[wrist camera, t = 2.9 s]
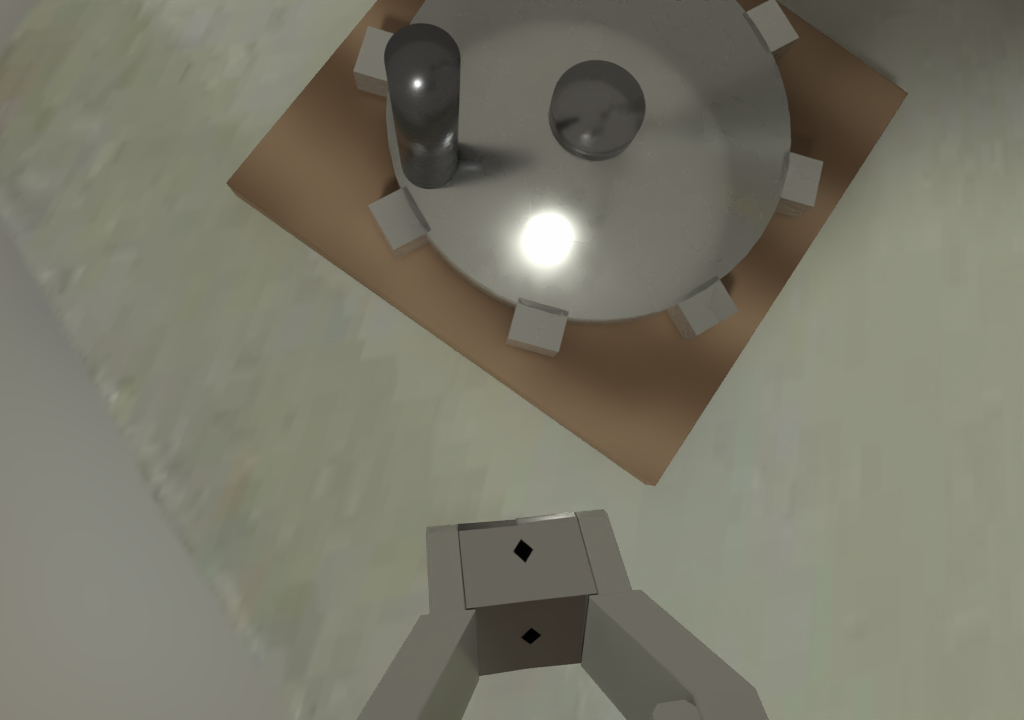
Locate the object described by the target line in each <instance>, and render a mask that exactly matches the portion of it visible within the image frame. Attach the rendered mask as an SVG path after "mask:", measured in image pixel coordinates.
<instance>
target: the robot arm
mask: <svg viewBox="0 0 1024 720" xmlns="http://www.w3.org/2000/svg"><path fill="white" fill-rule="evenodd" d="M426 548H427V567H428V587H429V606H430V614H428V615H421V616H420V618H419V619H418V621H417V623H416V624H415V626H414V628H413V629H412V631H411V632H410V634H409V636H408V637H407V639H406V641H405V642H404V644H403V645H402V647H401V649H400V650H399V652H398V654H397V655H396V657H395V658H394V660H393V662H392V663H391V665H390V667H389V668H388V670H387V671H386V673H385V675H384V676H383V678H382V680H381V681H380V683H379V684H378V686H377V688H376V689H375V691H374V693H373V694H372V696H371V697H370V699H369V701H368V702H367V704H366V706H365V707H364V709H363V710H362V712H361V714H360V715H359V717H358V719H357V720H461V719H462V717H463V715H464V712H465V710H466V708H467V706H468V703H469V701H470V699H471V697H472V694H473V692H474V690H475V688H476V685H477V683H478V681H479V676H483V675H490V674H496V673H502V672H509V671H515V670H522V669H528V668H537V667H547V666H557V665H567V664H577V663H581V666H582V667H583V669H584V670H585V671H586V672H587V673H588V674H589V676H590V677H591V678H592V679H593V680H594V682H595V683H596V684H597V685H598V686H599V687H600V689H601V690H602V691H603V692H604V693H605V694H606V696H607V697H608V698H609V699H610V700H611V702H612V703H613V704H614V705H615V706H616V707H617V709H618V710H619V711H620V712H621V713H622V714H623V716H624V717H625V718H626V719H627V720H769V719H768V717H767V714H766V712H765V710H764V707H763V705H762V703H761V700H760V698H759V696H758V693H757V691H756V689H755V688H754V687H753V686H752V685H751V684H750V683H749V682H747V681H746V680H745V679H744V678H743V677H742V676H740V675H739V674H738V673H737V672H736V671H735V670H734V669H732V668H731V667H730V666H729V665H728V664H727V663H725V662H724V661H723V660H722V659H721V658H720V657H718V656H717V655H716V654H715V653H714V652H713V651H711V650H710V649H709V648H708V647H707V646H706V645H704V644H703V643H702V642H701V641H700V640H699V639H697V638H696V637H695V636H694V635H693V634H692V633H691V632H689V631H688V630H687V629H686V628H685V627H684V626H682V625H681V624H680V623H679V622H678V621H677V620H675V619H674V618H673V617H672V616H671V615H670V614H668V613H667V612H666V611H665V610H664V609H663V608H661V607H660V606H659V605H658V604H657V603H656V602H655V601H653V600H652V599H651V598H650V597H649V596H648V595H646V594H645V593H644V592H643V591H642V590H632V588H631V585H630V582H629V579H628V576H627V573H626V570H625V567H624V564H623V561H622V558H621V554H620V551H619V548H618V545H617V542H616V539H615V536H614V533H613V530H612V527H611V524H610V521H609V518H608V514H607V513H606V512H605V511H604V509H602V510H592V511H582V512H575V513H573V512H568V513H559V514H551V515H542V516H534V517H525V518H517V519H515V520H505V521H492V522H479V523H466V524H458V529H457V524H456V525H444V526H433V527H427V530H426Z"/></svg>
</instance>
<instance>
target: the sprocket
mask: <svg viewBox="0 0 1024 720" xmlns="http://www.w3.org/2000/svg"><path fill="white" fill-rule="evenodd" d="M798 38H799V36H798V35H797V33H796V32H795V30H794V29H793V27H792V25H791V24H790V22H789V21H788V19H787V18H786V16H785V14H784V13H783V11H782V10H781V8H780V7H779V5H778V3H777V2H776V0H769V1H767V2H765V3H763V4H761V5H759V6H757V7H755V8H753V9H751V10H749V11H747V12H745V10H744V9H743V8H742V7H741V5H740V4H739V3H738V2H737V1H736V0H426V1H425V2H424V3H423V5H422V6H421V8H420V9H419V11H418V12H417V13H416V15H415V16H414V18H413V19H412V21H411V23H410V25H407V26H405V27H403V28H401V29H399V30H398V31H397V32H395V33H394V34H393V33H390V32H386V31H383V30H380V29H376V28H373V27H370V26H368V28H367V31H366V34H365V37H364V40H363V43H362V46H361V49H360V52H359V55H358V58H357V61H356V64H355V68H354V71H353V72H354V76H355V80H356V84H357V88H358V89H359V90H362V91H366V92H369V93H373V94H376V95H380V96H383V97H386V98H387V108H386V123H387V134H388V144H389V149H390V155H391V160H392V164H393V168H394V172H395V177H396V181H397V184H398V187H399V190H397V191H395V192H393V193H391V194H389V195H387V196H385V197H383V198H381V199H379V200H377V201H376V202H374V203H372V204H370V205H368V206H369V209H370V213H371V216H372V218H373V220H374V222H375V223H376V225H377V227H378V229H379V230H380V232H381V234H382V236H383V237H384V239H385V241H386V243H387V244H388V246H389V248H390V250H391V251H392V253H393V255H394V257H395V258H396V260H397V259H399V258H401V257H403V256H405V255H407V254H408V253H410V252H412V251H414V250H416V249H418V248H420V247H422V246H424V245H425V244H427V243H429V245H430V246H431V247H432V249H433V250H434V252H435V253H436V254H437V255H438V256H439V257H440V258H441V259H442V260H443V261H444V262H445V263H446V264H447V265H448V266H449V267H450V268H451V269H452V270H453V271H454V272H455V273H456V274H458V275H459V276H460V277H461V278H462V279H464V280H465V281H466V282H467V283H469V284H470V285H471V286H472V287H474V288H475V289H477V290H479V291H480V292H482V293H483V294H485V295H487V296H488V297H490V298H492V299H493V300H495V301H496V302H499V303H501V304H503V305H505V306H508V307H510V308H512V309H514V312H513V316H512V320H511V323H510V327H509V331H508V334H507V338H506V342H505V344H508V345H511V346H515V347H519V348H522V349H526V350H529V351H533V352H537V353H540V354H544V355H547V356H551V357H554V356H555V355H556V354H557V353H558V352H559V349H560V345H561V341H562V337H563V333H564V329H565V326H566V324H572V325H596V326H600V325H611V324H621V323H628V322H632V321H636V320H641V319H645V318H649V317H652V316H655V315H657V314H660V313H663V312H665V311H667V312H668V313H669V315H670V317H671V318H672V320H673V322H674V323H675V325H676V327H677V328H678V330H679V332H680V333H681V335H682V337H683V338H684V340H685V341H687V340H689V339H691V338H693V337H695V336H697V335H699V334H701V333H702V332H704V331H706V330H707V329H709V328H711V327H713V326H714V325H716V324H718V323H719V322H721V321H723V320H725V319H726V318H728V317H730V316H731V315H733V314H735V313H736V312H738V311H739V310H738V309H737V307H736V305H735V304H734V302H733V300H732V299H731V297H730V295H729V294H728V292H727V291H726V289H725V287H724V286H723V284H722V282H721V281H720V279H721V278H723V277H724V276H725V275H727V274H728V273H729V272H730V271H731V270H732V269H733V268H734V267H735V266H736V265H737V264H738V263H739V262H740V261H741V260H742V259H743V258H744V257H745V256H746V255H747V254H748V253H749V251H750V250H751V249H752V247H753V246H754V245H755V243H756V242H757V241H758V240H759V238H760V237H761V236H762V234H763V232H764V230H765V228H766V227H767V225H768V223H769V221H770V220H771V218H772V216H773V214H774V212H778V213H782V214H785V215H788V216H792V217H795V218H799V217H800V216H801V215H803V214H804V213H806V212H807V211H809V210H810V209H812V208H813V207H814V204H815V199H816V195H817V190H818V185H819V180H820V175H821V170H822V166H823V162H822V161H819V160H816V159H812V158H809V157H805V156H802V155H799V154H795V153H792V152H790V147H791V129H790V114H789V108H788V102H787V96H786V91H785V88H784V85H783V81H782V78H781V75H780V71H779V68H778V66H777V64H776V62H775V60H777V59H779V58H781V57H782V56H784V55H785V54H786V53H787V51H788V50H789V49H790V48H791V47H792V46H793V44H794V43H795V42H796V41H797V40H798Z"/></svg>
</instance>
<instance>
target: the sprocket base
mask: <svg viewBox="0 0 1024 720" xmlns="http://www.w3.org/2000/svg"><path fill="white" fill-rule="evenodd" d="M425 1H426V0H377V2H376V3H375V4H374V5H373V7H372V8H371V9H370V10H369V11H368V13H367V14H366V15H365V16H364V17H363V19H362V20H361V21H360V22H359V23H358V25H357V26H356V27H355V28H354V29H353V31H352V32H351V33H350V34H349V36H348V37H347V38H346V39H345V40H344V42H343V43H342V44H341V45H340V46H339V48H338V49H337V50H336V51H335V52H334V54H333V55H332V56H331V57H330V58H329V60H328V61H327V62H326V63H325V64H324V66H323V67H322V68H321V69H320V71H319V72H318V73H317V74H316V75H315V77H314V78H313V79H312V80H311V81H310V83H309V84H308V85H307V86H306V87H305V89H304V90H303V91H302V92H301V93H300V95H299V96H298V97H297V98H296V100H295V101H294V102H293V103H292V104H291V106H290V107H289V108H288V109H287V110H286V112H285V113H284V114H283V115H282V116H281V118H280V119H279V120H278V121H277V122H276V124H275V125H274V126H273V127H272V128H271V130H270V131H269V132H268V133H267V135H266V136H265V137H264V138H263V139H262V141H261V142H260V143H259V144H258V145H257V147H256V148H255V149H254V150H253V151H252V153H251V154H250V155H249V156H248V157H247V159H246V160H245V161H244V162H243V164H242V165H241V166H240V167H239V168H238V170H237V171H236V172H235V173H234V174H233V176H232V177H231V178H230V179H229V180H228V182H227V184H228V186H229V187H230V188H231V189H232V191H233V192H234V193H235V194H236V196H238V197H239V198H241V199H242V200H244V201H245V202H246V203H248V204H249V205H251V206H252V207H253V208H255V209H256V210H258V211H259V212H261V213H262V214H263V215H265V216H266V217H268V218H269V219H270V220H272V221H273V222H275V223H276V224H278V225H279V226H280V227H282V228H283V229H285V230H286V231H287V232H289V233H290V234H292V235H293V236H295V237H296V238H297V239H299V240H300V241H302V242H303V243H304V244H306V245H307V246H309V247H310V248H312V249H313V250H314V251H316V252H317V253H319V254H320V255H321V256H323V257H324V258H326V259H327V260H329V261H330V262H331V263H333V264H334V265H336V266H337V267H338V268H340V269H341V270H343V271H344V272H346V273H347V274H348V275H350V276H351V277H353V278H354V279H355V280H357V281H358V282H360V283H361V284H362V285H364V286H365V287H367V288H368V289H370V290H371V291H372V292H374V293H375V294H377V295H378V296H379V297H381V298H382V299H384V300H385V301H387V302H388V303H389V304H391V305H392V306H394V307H395V308H396V309H398V310H399V311H401V312H402V313H404V314H405V315H406V316H408V317H409V318H411V319H412V320H413V321H415V322H416V323H418V324H419V325H421V326H422V327H423V328H425V329H426V330H428V331H429V332H430V333H432V334H433V335H435V336H436V337H438V338H439V339H440V340H442V341H443V342H445V343H446V344H447V345H449V346H450V347H452V348H453V349H455V350H456V351H457V352H459V353H460V354H462V355H463V356H464V357H466V358H467V359H469V360H470V361H472V362H473V363H474V364H476V365H477V366H479V367H480V368H481V369H483V370H484V371H486V372H487V373H489V374H490V375H491V376H493V377H494V378H496V379H497V380H498V381H500V382H501V383H503V384H504V385H506V386H507V387H508V388H510V389H511V390H513V391H514V392H515V393H517V394H518V395H520V396H521V397H523V398H524V399H525V400H527V401H528V402H530V403H531V404H532V405H534V406H535V407H537V408H538V409H539V410H541V411H542V412H544V413H545V414H547V415H548V416H549V417H551V418H552V419H554V420H555V421H556V422H558V423H559V424H561V425H562V426H564V427H565V428H566V429H568V430H569V431H571V432H572V433H573V434H575V435H576V436H578V437H579V438H581V439H582V440H583V441H585V442H586V443H588V444H589V445H590V446H592V447H593V448H595V449H596V450H598V451H599V452H600V453H602V454H603V455H605V456H606V457H607V458H609V459H610V460H612V461H613V462H615V463H616V464H617V465H619V466H620V467H622V468H623V469H624V470H626V471H627V472H629V473H630V474H632V475H633V476H634V477H636V478H637V479H639V480H640V481H641V482H643V483H644V484H646V485H652V486H655V485H656V484H657V482H658V481H659V479H660V478H661V476H662V475H663V473H664V471H665V470H666V468H667V467H668V465H669V464H670V462H671V461H672V459H673V458H674V456H675V454H676V453H677V451H678V450H679V448H680V447H681V445H682V444H683V442H684V440H685V439H686V437H687V436H688V434H689V433H690V431H691V430H692V428H693V426H694V425H695V423H696V422H697V420H698V419H699V417H700V416H701V414H702V413H703V411H704V409H705V408H706V406H707V405H708V403H709V402H710V400H711V399H712V397H713V395H714V394H715V392H716V391H717V389H718V388H719V386H720V385H721V383H722V381H723V380H724V378H725V377H726V375H727V374H728V372H729V371H730V369H731V368H732V366H733V364H734V363H735V361H736V360H737V358H738V357H739V355H740V354H741V352H742V350H743V349H744V347H745V346H746V344H747V343H748V341H749V340H750V338H751V336H752V335H753V333H754V332H755V330H756V329H757V327H758V326H759V324H760V322H761V321H762V319H763V318H764V316H765V315H766V313H767V312H768V310H769V309H770V307H771V305H772V304H773V302H774V301H775V299H776V298H777V296H778V295H779V293H780V291H781V290H782V288H783V287H784V285H785V284H786V282H787V281H788V279H789V277H790V276H791V274H792V273H793V271H794V270H795V268H796V267H797V265H798V264H799V262H800V260H801V259H802V257H803V256H804V254H805V253H806V251H807V250H808V248H809V246H810V245H811V243H812V242H813V240H814V239H815V237H816V236H817V234H818V232H819V231H820V229H821V228H822V226H823V225H824V223H825V222H826V220H827V219H828V217H829V215H830V214H831V212H832V211H833V209H834V208H835V206H836V205H837V203H838V201H839V200H840V198H841V197H842V195H843V194H844V192H845V191H846V189H847V187H848V186H849V184H850V183H851V181H852V180H853V178H854V177H855V175H856V174H857V172H858V170H859V169H860V167H861V166H862V164H863V163H864V161H865V160H866V158H867V156H868V155H869V153H870V152H871V150H872V149H873V147H874V146H875V144H876V142H877V141H878V139H879V138H880V136H881V135H882V133H883V132H884V130H885V129H886V127H887V125H888V124H889V122H890V121H891V119H892V118H893V116H894V115H895V113H896V111H897V110H898V108H899V107H900V105H901V104H902V102H903V101H904V99H905V97H906V96H907V94H908V93H907V92H905V91H904V90H903V89H901V88H900V87H898V86H897V85H895V84H894V83H893V82H891V81H890V80H888V79H887V78H885V77H884V76H883V75H881V74H880V73H878V72H877V71H875V70H874V69H873V68H871V67H870V66H868V65H867V64H865V63H864V62H863V61H861V60H860V59H858V58H857V57H855V56H854V55H853V54H851V53H850V52H848V51H847V50H845V49H844V48H843V47H841V46H840V45H838V44H837V43H835V42H834V41H833V40H831V39H830V38H828V37H827V36H826V35H824V34H823V33H821V32H820V31H818V30H817V29H816V28H814V27H813V26H811V25H810V24H808V23H807V22H806V21H804V20H803V19H801V18H800V17H798V16H797V15H796V14H794V13H793V12H791V11H790V10H788V9H787V8H786V7H784V6H783V5H781V4H780V3H778V2H777V1H776V2H777V3H778V5H779V7H780V8H781V10H782V11H783V13H784V14H785V16H786V18H787V19H788V21H789V22H790V24H791V25H792V27H793V29H794V30H795V32H796V33H797V35H798V36H799V38H798V40H797V41H796V42H795V43H794V44H793V46H792V47H791V48H790V49H789V50H788V51H787V53H786V54H785V55H784V56H782V57H781V58H779V59H777V60H775V62H776V64H777V66H778V68H779V71H780V75H781V78H782V81H783V85H784V88H785V91H786V96H787V102H788V108H789V114H790V129H791V147H790V152H792V153H795V154H799V155H802V156H805V157H809V158H812V159H816V160H819V161H822V162H823V166H822V170H821V175H820V180H819V185H818V190H817V195H816V199H815V204H814V207H813V208H812V209H810V210H809V211H807V212H806V213H804V214H803V215H801V216H800V217H799V218H795V217H792V216H788V215H785V214H782V213H778V212H774V214H773V216H772V218H771V220H770V221H769V223H768V225H767V227H766V228H765V230H764V232H763V234H762V236H761V237H760V238H759V240H758V241H757V242H756V243H755V245H754V246H753V247H752V249H751V250H750V251H749V253H748V254H747V255H746V256H745V257H744V258H743V259H742V260H741V261H740V262H739V263H738V264H737V265H736V266H735V267H734V268H733V269H732V270H731V271H730V272H729V273H728V274H727V275H725V276H724V277H723V278H721V279H720V281H721V282H722V284H723V286H724V287H725V289H726V291H727V292H728V294H729V295H730V297H731V299H732V300H733V302H734V304H735V305H736V307H737V309H738V310H739V311H738V312H736V313H735V314H733V315H731V316H730V317H728V318H726V319H725V320H723V321H721V322H719V323H718V324H716V325H714V326H713V327H711V328H709V329H707V330H706V331H704V332H702V333H701V334H699V335H697V336H695V337H693V338H691V339H689V340H687V341H685V340H684V338H683V337H682V335H681V333H680V332H679V330H678V328H677V327H676V325H675V323H674V322H673V320H672V318H671V317H670V315H669V313H668V312H667V311H665V312H663V313H660V314H657V315H655V316H652V317H649V318H645V319H641V320H636V321H632V322H628V323H621V324H611V325H600V326H596V325H572V324H566V326H565V329H564V333H563V337H562V341H561V345H560V349H559V352H558V353H557V354H556V355H555V356H554V357H551V356H547V355H544V354H540V353H537V352H533V351H529V350H526V349H522V348H519V347H515V346H511V345H508V344H505V342H506V338H507V334H508V331H509V327H510V323H511V320H512V316H513V312H514V309H512V308H510V307H508V306H505V305H503V304H501V303H499V302H496V301H495V300H493V299H492V298H490V297H488V296H487V295H485V294H483V293H482V292H480V291H479V290H477V289H475V288H474V287H472V286H471V285H470V284H469V283H467V282H466V281H465V280H464V279H462V278H461V277H460V276H459V275H458V274H456V273H455V272H454V271H453V270H452V269H451V268H450V267H449V266H448V265H447V264H446V263H445V262H444V261H443V260H442V259H441V258H440V257H439V256H438V255H437V254H436V253H435V252H434V250H433V249H432V247H431V246H430V245H429V243H427V244H425V245H424V246H422V247H420V248H418V249H416V250H414V251H412V252H410V253H408V254H407V255H405V256H403V257H401V258H399V259H397V260H396V258H395V257H394V255H393V253H392V251H391V250H390V248H389V246H388V244H387V243H386V241H385V239H384V237H383V236H382V234H381V232H380V230H379V229H378V227H377V225H376V223H375V222H374V220H373V218H372V216H371V213H370V209H369V206H368V205H370V204H372V203H374V202H376V201H377V200H379V199H381V198H383V197H385V196H387V195H389V194H391V193H393V192H395V191H397V190H399V187H398V184H397V181H396V177H395V172H394V168H393V164H392V160H391V155H390V149H389V144H388V134H387V123H386V108H387V98H386V97H383V96H380V95H376V94H373V93H369V92H366V91H362V90H359V89H358V88H357V84H356V80H355V76H354V72H353V71H354V68H355V64H356V61H357V58H358V55H359V52H360V49H361V46H362V43H363V40H364V37H365V34H366V31H367V28H368V26H370V27H373V28H376V29H380V30H383V31H386V32H390V33H393V34H394V33H395V32H397V31H398V30H399V29H401V28H403V27H405V26H407V25H410V23H411V21H412V19H413V18H414V16H415V15H416V13H417V12H418V11H419V9H420V8H421V6H422V5H423V3H424V2H425ZM736 1H737V2H738V3H739V4H740V5H741V7H742V8H743V9H744V10H745V12H747V11H749V10H751V9H753V8H755V7H757V6H759V5H761V4H763V3H765V2H767V1H769V0H736Z"/></svg>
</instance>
